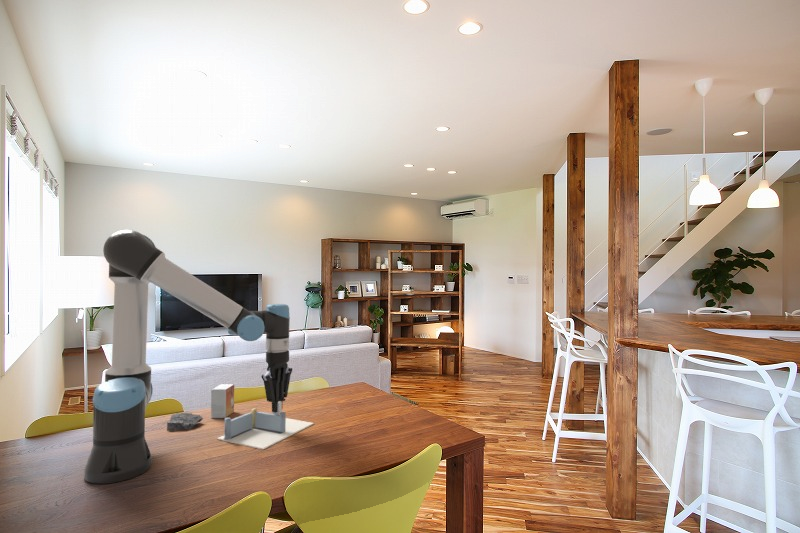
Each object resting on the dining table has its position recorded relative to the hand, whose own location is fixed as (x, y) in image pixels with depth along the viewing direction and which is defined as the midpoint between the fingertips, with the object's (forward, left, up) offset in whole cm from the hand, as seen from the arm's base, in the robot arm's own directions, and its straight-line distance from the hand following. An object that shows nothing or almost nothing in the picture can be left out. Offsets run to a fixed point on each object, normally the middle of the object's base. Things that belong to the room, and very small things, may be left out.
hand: (277, 420), depth 147 cm
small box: (+4, +30, -4) cm, 30 cm away
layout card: (-2, +3, -3) cm, 5 cm away
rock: (-10, +32, -4) cm, 34 cm away
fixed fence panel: (-8, +9, -3) cm, 12 cm away
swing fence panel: (-1, +3, -3) cm, 4 cm away
